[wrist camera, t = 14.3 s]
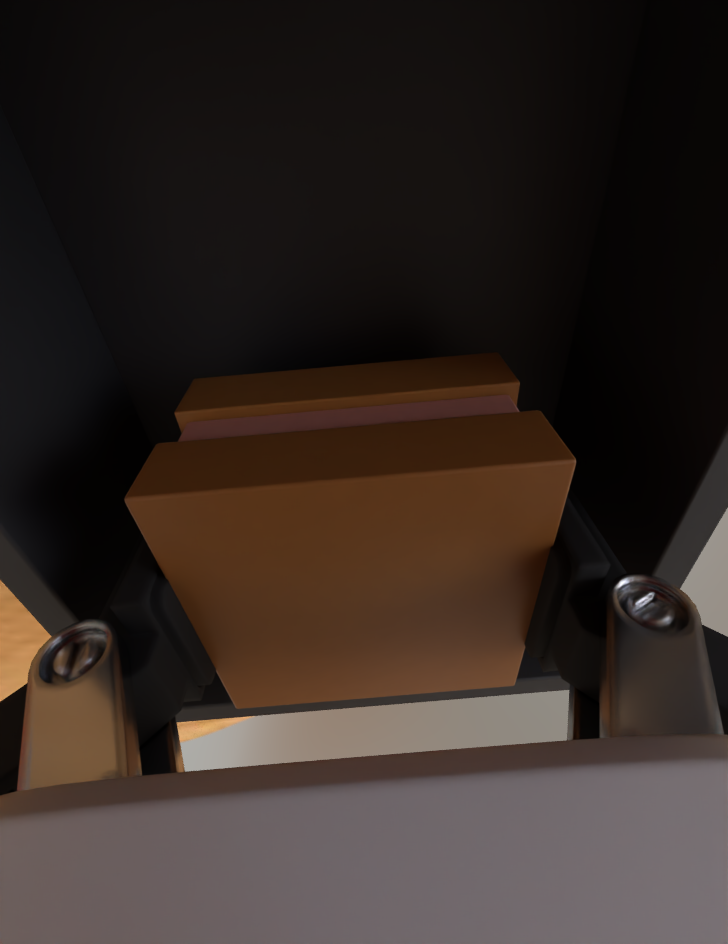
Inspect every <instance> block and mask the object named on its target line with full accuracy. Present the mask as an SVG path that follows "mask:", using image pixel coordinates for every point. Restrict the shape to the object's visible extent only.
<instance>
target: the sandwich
mask: <svg viewBox="0 0 728 944" xmlns="http://www.w3.org/2000/svg"><path fill="white" fill-rule="evenodd" d="M519 387H520V382H519V380H518V379H517V378H516V376H515V375H514V374H513V372H512V371H511V370H510V368H509V367H508V366H507V364H506V363H505V362H504V360H503V359H502V357H501V356H500V355H499V353H497V352H494V353H482V354H471V355H459V356H448V357H437V358H425V359H414V360H403V361H391V362H380V363H368V364H357V365H346V366H334V367H323V368H311V369H300V370H289V371H277V372H266V373H255V374H243V375H232V376H220V377H209V378H198V379H194V380H193V381H192V383H191V385H190V387H189V388H188V390H187V392H186V393H185V395H184V397H183V398H182V400H181V402H180V403H179V405H178V407H177V409H176V410H175V412H174V414H175V417H176V419H177V422H178V425H179V427H180V430H181V432H182V434H181V436H180V438H179V440H178V442H167V443H158V444H156V445H155V447H154V448H153V450H152V452H151V454H150V455H149V457H148V459H147V460H146V462H145V464H144V465H143V467H142V469H141V471H140V472H139V474H138V476H137V477H136V479H135V481H134V482H133V484H132V486H131V488H130V489H129V491H128V493H127V494H126V496H125V499H124V500H125V503H126V505H127V507H128V509H129V511H130V513H131V515H132V516H133V518H134V520H135V522H136V524H137V526H138V528H139V529H140V531H141V533H142V535H143V537H144V539H145V540H146V542H147V544H148V546H149V548H150V550H151V552H152V553H153V555H154V557H155V559H156V561H157V563H158V565H159V566H160V568H161V570H162V572H163V574H164V576H165V578H166V579H168V581H169V583H170V585H171V587H172V588H173V590H174V592H175V594H176V596H177V598H178V600H179V601H180V603H181V605H182V607H183V609H184V611H185V613H186V614H187V616H188V618H189V620H190V622H191V624H192V626H193V627H194V629H195V631H196V633H197V635H198V637H199V639H200V641H201V642H202V644H203V646H204V648H205V650H206V652H207V654H208V655H209V657H210V659H211V661H212V663H213V665H214V667H215V668H216V672H217V674H218V676H219V678H220V680H221V681H222V683H223V685H224V687H225V689H226V691H227V692H228V694H229V696H230V698H231V700H232V702H233V704H234V705H235V707H236V708H237V709H241V708H253V707H265V706H277V705H289V704H301V703H313V702H325V701H337V700H349V699H361V698H373V697H385V696H397V695H409V694H421V693H433V692H445V691H457V690H469V689H481V688H493V687H505V686H513V685H515V682H516V678H517V675H518V671H519V668H520V664H521V660H522V657H523V653H524V650H525V644H524V643H525V640H526V636H527V632H528V629H529V625H530V621H531V618H532V614H533V610H534V607H535V603H536V599H537V596H538V592H539V588H540V585H541V581H542V577H543V574H544V570H545V566H546V563H547V559H548V555H549V552H550V548H551V547H552V546H553V545H554V541H555V538H556V534H557V531H558V527H559V523H560V520H561V516H562V513H563V509H564V505H565V502H566V498H567V495H568V491H569V487H570V484H571V480H572V477H573V473H574V469H575V466H576V458H575V457H574V456H573V454H572V453H571V452H570V450H569V449H568V448H567V446H566V445H565V444H564V442H563V441H562V439H561V438H560V437H559V435H558V434H557V433H556V431H555V430H554V429H553V427H552V426H551V425H550V423H549V422H548V420H547V419H546V418H545V416H544V415H543V414H542V412H541V411H538V410H535V411H523V412H520V411H519V410H518V408H517V407H516V405H517V399H518V393H519Z"/></svg>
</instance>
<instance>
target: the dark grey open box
mask: <svg viewBox="0 0 728 944" xmlns="http://www.w3.org/2000/svg"><path fill="white" fill-rule="evenodd" d="M494 352H497V353H499V355H500V356H501V357H502V359H503V360H504V362H505V363H506V364H507V366H508V367H509V368H510V370H511V371H512V372H513V374H514V375H515V376H516V378H517V379H518V380H519V382H520V387H519V393H518V399H517V405H516V407H517V408H518V410H519V411H520V412H523V411H535V410H538V411H541V412H542V414H543V415H544V416H545V418H546V419H547V420H548V422H549V423H550V425H551V426H552V427H553V429H554V430H555V431H556V433H557V434H558V435H559V437H560V438H561V439H562V441H563V442H564V444H565V445H566V446H567V448H568V449H569V450H570V452H571V453H572V454H573V456H574V457H575V458H576V466H575V469H574V473H573V477H572V480H571V484H570V487H569V488H570V489H571V490H572V491H573V492H574V494H575V495H576V497H577V498H578V500H579V501H580V503H581V504H582V506H583V507H584V509H585V510H586V512H587V513H588V515H589V517H590V518H591V520H592V521H593V523H594V524H595V526H596V527H597V529H598V530H599V532H600V533H601V535H602V536H603V538H604V539H605V541H606V542H607V544H608V545H609V547H610V548H611V550H612V551H613V553H614V554H615V556H616V558H617V559H618V561H619V562H620V564H621V565H622V567H623V568H624V570H625V571H626V573H627V574H629V573H642V574H649V575H652V576H656V577H659V578H662V579H664V580H666V581H668V582H669V583H671V584H673V585H675V586H677V587H678V588H679V589H680V588H681V586H682V584H683V583H684V581H685V579H686V577H687V576H688V574H689V572H690V571H691V569H692V567H693V565H694V564H695V562H696V560H697V559H698V557H699V555H700V554H701V552H702V550H703V548H704V547H705V545H706V543H707V542H708V540H709V538H710V537H711V535H712V533H713V531H714V530H715V528H716V526H717V524H718V523H719V521H720V519H721V518H722V516H723V514H724V512H725V511H726V509H727V508H728V0H0V580H1V581H2V582H3V583H4V584H5V585H6V586H7V587H8V589H9V590H10V591H11V592H12V593H13V594H14V595H15V596H16V597H17V599H18V600H19V601H20V602H21V603H22V604H23V605H24V606H25V607H26V609H27V610H28V611H29V612H30V613H31V614H32V615H33V616H34V617H35V619H36V620H37V621H38V622H39V623H40V624H41V625H42V626H43V627H44V629H45V630H46V631H47V632H48V633H49V634H50V635H51V636H54V635H55V634H56V633H58V632H59V631H60V630H62V629H64V628H65V627H67V626H69V625H71V624H73V623H76V622H79V621H82V620H86V619H99V617H100V615H101V613H102V611H103V609H104V607H105V605H106V603H107V601H108V599H109V597H110V595H111V593H112V591H113V589H114V587H115V585H116V583H117V581H118V579H119V577H120V575H121V572H122V570H123V568H124V566H125V564H126V562H127V560H128V558H129V556H130V554H131V552H132V550H133V548H134V546H135V544H136V542H137V540H138V538H139V536H140V534H141V531H140V529H139V528H138V526H137V524H136V522H135V520H134V518H133V516H132V515H131V513H130V511H129V509H128V507H127V505H126V503H125V500H124V499H125V496H126V494H127V493H128V491H129V489H130V488H131V486H132V484H133V482H134V481H135V479H136V477H137V476H138V474H139V472H140V471H141V469H142V467H143V465H144V464H145V462H146V460H147V459H148V457H149V455H150V454H151V452H152V450H153V448H154V447H155V445H156V444H158V443H167V442H178V440H179V438H180V436H181V434H182V432H181V430H180V427H179V425H178V422H177V419H176V417H175V414H174V412H175V410H176V409H177V407H178V405H179V403H180V402H181V400H182V398H183V397H184V395H185V393H186V392H187V390H188V388H189V387H190V385H191V383H192V381H193V380H194V379H198V378H209V377H220V376H232V375H243V374H255V373H266V372H277V371H289V370H300V369H311V368H323V367H334V366H346V365H357V364H368V363H380V362H391V361H403V360H414V359H425V358H437V357H448V356H459V355H471V354H482V353H494ZM559 690H570V684H569V683H567V682H566V681H564V680H563V679H562V678H561V676H560V673H559V671H550V672H542V669H541V666H540V664H539V661H538V658H537V657H535V658H531V657H530V656H529V654H528V652H527V650H526V647H525V650H524V653H523V657H522V660H521V664H520V668H519V671H518V675H517V678H516V682H515V685H513V686H505V687H493V688H481V689H469V690H457V691H445V692H433V693H421V694H409V695H397V696H385V697H373V698H361V699H349V700H337V701H325V702H313V703H301V704H289V705H277V706H265V707H253V708H241V709H237V708H236V707H235V705H234V704H233V702H232V700H231V698H230V696H229V694H228V692H227V691H226V689H225V687H224V685H223V683H222V681H221V680H220V678H219V676H218V674H217V672H215V676H214V679H213V682H212V683H211V684H210V685H205V689H204V693H203V697H202V701H190V702H183V706H182V709H181V711H180V712H179V713H178V714H177V715H175V717H176V722H186V721H198V720H210V719H222V718H234V717H246V716H258V715H270V714H282V713H295V712H306V711H318V710H329V709H330V710H331V709H343V708H354V707H366V706H378V705H391V704H402V703H414V702H426V701H438V700H449V699H450V700H451V699H463V698H475V697H487V696H499V695H511V694H522V693H534V692H547V691H559Z"/></svg>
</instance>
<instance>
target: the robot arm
mask: <svg viewBox="0 0 728 944" xmlns="http://www.w3.org/2000/svg"><path fill="white" fill-rule="evenodd" d="M524 644H525V647H526V650H527V652H528V654H529V656H530V657H531V658H535V657H537V658H538V661H539V664H540V666H541V669H542V672H550V671H559V673H560V676H561V678H562V679H563V680H564V681H566V682H567V683H569V684H570V691H569V692H570V693H569V711H568V733H567V741H555V742H542V743H530V744H516V745H503V746H490V747H477V748H465V749H452V750H439V751H426V752H414V753H402V754H390V755H378V756H366V757H354V758H341V759H330V760H317V761H305V762H293V763H282V764H270V765H258V766H248V767H236V768H225V769H213V770H201V771H189V772H185V770H184V764H183V758H182V752H181V746H180V741H179V735H178V729H177V723H176V717H175V715H177V714H178V713H179V712H180V711H181V709H182V706H183V702H190V701H202V697H203V693H204V689H205V685H210V684H211V683H212V682H213V679H214V676H215V672H216V668H215V667H214V665H213V663H212V661H211V659H210V657H209V655H208V654H207V652H206V650H205V648H204V646H203V644H202V642H201V641H200V639H199V637H198V635H197V633H196V631H195V629H194V627H193V626H192V624H191V622H190V620H189V618H188V616H187V614H186V613H185V611H184V609H183V607H182V605H181V603H180V601H179V600H178V598H177V596H176V594H175V592H174V590H173V588H172V587H171V585H170V583H169V581H168V579H166V578H165V576H164V574H163V572H162V570H161V568H160V566H159V565H158V563H157V561H156V559H155V557H154V555H153V553H152V552H151V550H150V548H149V546H148V544H147V542H146V540H145V539H144V537H143V535H142V533H141V534H140V536H139V538H138V540H137V542H136V544H135V546H134V548H133V550H132V552H131V554H130V556H129V558H128V560H127V562H126V564H125V566H124V568H123V570H122V572H121V575H120V577H119V579H118V581H117V583H116V585H115V587H114V589H113V591H112V593H111V595H110V597H109V599H108V601H107V603H106V605H105V607H104V609H103V611H102V613H101V615H100V617H99V619H86V620H82V621H79V622H76V623H73V624H71V625H69V626H67V627H65V628H64V629H62V630H60V631H59V632H58V633H56V634H55V635H54V636H52V637H51V638H50V639H49V640H48V641H47V642H46V643H45V644H44V645H43V646H42V647H41V648H40V649H39V650H38V652H37V654H36V655H35V657H34V659H33V660H32V662H31V666H30V669H29V673H28V683H27V684H26V685H24V686H23V687H21V688H20V689H18V690H17V691H15V692H14V693H13V694H11V695H10V696H8V697H7V698H5V699H4V700H2V701H1V702H0V944H728V637H727V636H725V635H723V634H720V633H718V632H716V631H714V630H712V629H710V628H708V627H706V626H704V625H702V623H701V618H700V615H699V613H698V610H697V608H696V605H695V604H694V603H693V602H692V600H691V599H690V598H689V597H688V595H687V594H685V593H684V592H683V591H682V590H680V589H679V588H678V587H677V586H675V585H673V584H671V583H669V582H668V581H666V580H664V579H662V578H659V577H656V576H652V575H649V574H642V573H629V574H627V573H626V571H625V570H624V568H623V567H622V565H621V564H620V562H619V561H618V559H617V558H616V556H615V554H614V553H613V551H612V550H611V548H610V547H609V545H608V544H607V542H606V541H605V539H604V538H603V536H602V535H601V533H600V532H599V530H598V529H597V527H596V526H595V524H594V523H593V521H592V520H591V518H590V517H589V515H588V513H587V512H586V510H585V509H584V507H583V506H582V504H581V503H580V501H579V500H578V498H577V497H576V495H575V494H574V492H573V491H572V490H571V489H570V488H569V491H568V495H567V498H566V502H565V505H564V509H563V513H562V516H561V520H560V523H559V527H558V531H557V534H556V538H555V541H554V545H553V546H552V547H551V548H550V552H549V555H548V559H547V563H546V566H545V570H544V574H543V577H542V581H541V585H540V588H539V592H538V596H537V599H536V603H535V607H534V610H533V614H532V618H531V621H530V625H529V629H528V632H527V636H526V640H525V643H524Z"/></svg>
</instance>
